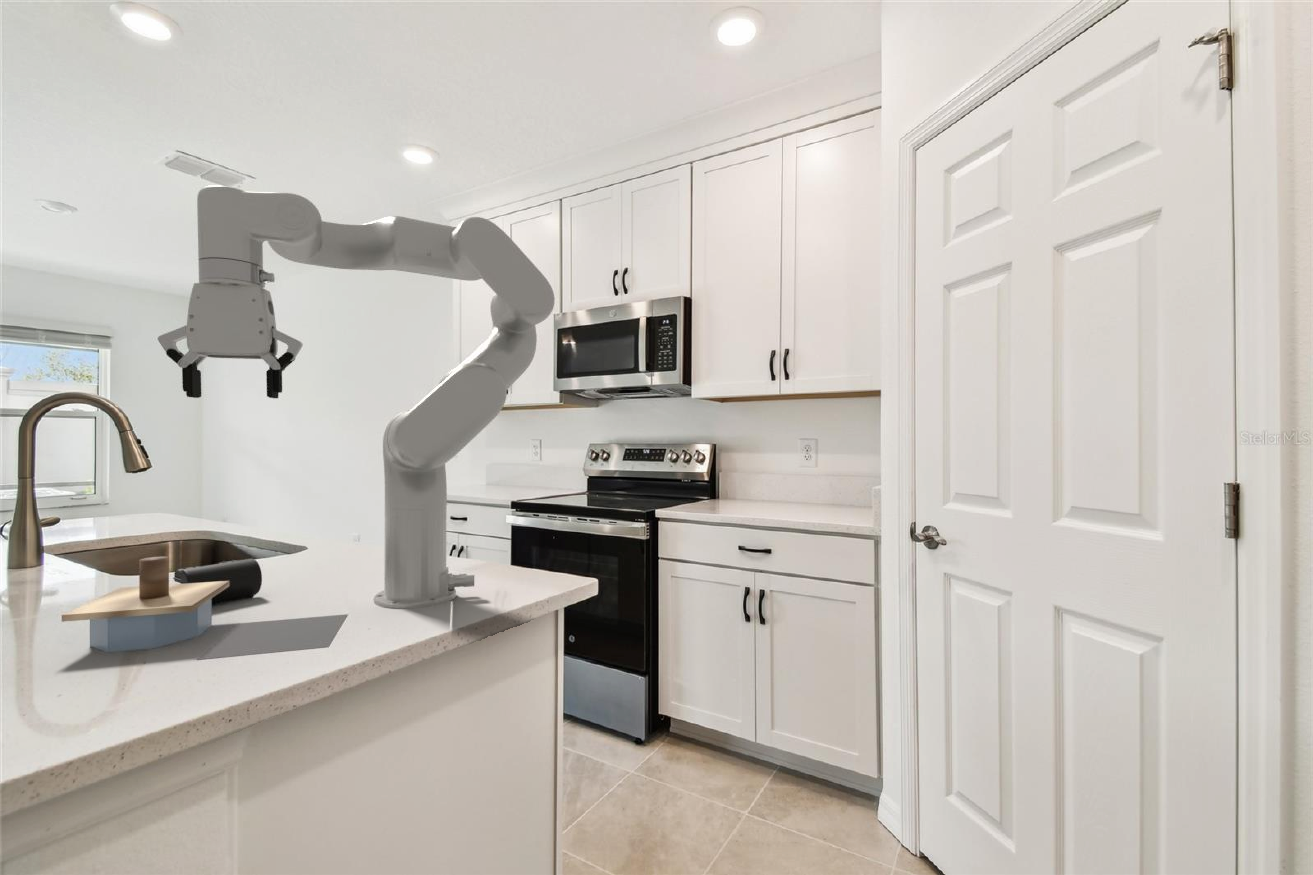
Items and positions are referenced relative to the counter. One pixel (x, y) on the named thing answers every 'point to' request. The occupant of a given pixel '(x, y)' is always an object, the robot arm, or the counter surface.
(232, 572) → the end cap
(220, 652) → the mat
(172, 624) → the bowl
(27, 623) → the counter surface
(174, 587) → the lid
